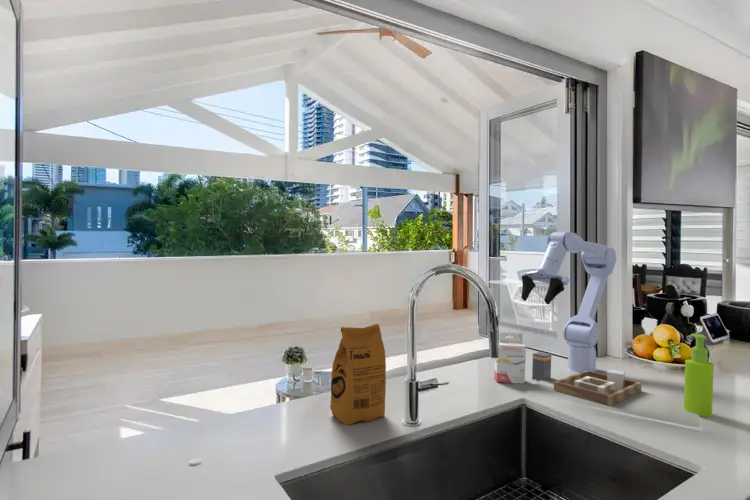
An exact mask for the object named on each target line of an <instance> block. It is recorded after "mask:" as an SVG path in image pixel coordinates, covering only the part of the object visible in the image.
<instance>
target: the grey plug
mask: <svg viewBox="0 0 750 500" xmlns="http://www.w3.org/2000/svg"><path fill="white" fill-rule="evenodd" d="M625 373H626V372H625V371H624V370H618V369H612V368H609V369H608V370H607V372H606V375H607V381H610V382H615V391H619V390H621V389H623V388H624V379H625Z"/></svg>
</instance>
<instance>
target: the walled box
mask: <svg viewBox="0 0 750 500" xmlns="http://www.w3.org/2000/svg"><path fill="white" fill-rule="evenodd" d="M553 391H555V392H559V393H562V394H566V395H570V396H574V397H576V398H579V399H585V400H589V401H592V402H594V403H599V404H603V405H607V406H611V407H612V406H614V405H616V404H619V403H621V402H622V401H625V400H627V399H628V398H630V397H633V396H634V395H637V394H639V393H641V392H642V382H640V381H636V380H631V379H627V378H624V388H623V389H621V390H619V391H615V382H610V381H607V374H604V373H600V372H596V371H594V372H592V371H587V370H586V371H583V372H580V373H578V372H576V373H574V374H573V375H569V376H567V377H563V378H561V379H560V378H559V379H557V380H555V381H553Z"/></svg>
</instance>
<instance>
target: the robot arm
mask: <svg viewBox="0 0 750 500" xmlns="http://www.w3.org/2000/svg"><path fill="white" fill-rule="evenodd" d="M567 252H568V253H572V254H578V253H580V252H581V253H580V257H581V262H582V263H583V267H584V270H585V272H586V273H587V274H589V275H590V278H589V281H588V284H587V286H586V290H585V293H584V296H583V298H582V301H581V304H580V307H579V310H578V313H577V314H576V315H574V316H572V317H569V319H568V321H567V323H566V324H565V325H564V327H563V331H562V337H563V339H564V340H565V341H566V344H568V349H567V351H568V353H567V354H568V355H567V356H568V357H567V358H568V359H567V367H563V368H562V369H563V370H564V371H565V370H566V371H569V372H574V373H580V372H583V371H586V370H587V371H592V372H596V371H598V370H599V369H598V368H596V365H597V363H596V362H597V351H596V348H595V347H594V346H595V345H596V344H597V342H599V341H598V340H599V333H600V326H599V324H598V322H596V321H595V320H594V319H595V316H596V314H597V310H598V308H599V304H600V301H601V298H602V295H603V293H604V291H605V290H604V289H605V286H606V284H607V281H608V277H609V276H610V275H612V273H613V271H614V269H615V265H616V261H617V255H616V254H617V253H616V250H615V249H614V248H613V247H612V246H611V247H609V246H608V245H606V244H601V243H597V242H591V241H584V239H583V238H582V236H579V235H578V234H577V233H576V232H574V233H573V232H572V231H570V232H569V231H552V233H550V234H548V235H547V239H546V245H545V252H544V255H543V257H542V259H541V261H540V263H539V265H538V267H537V270H533V271H523V272H522V275H521V283H522V284H521V285H522V291H521V296H520V298H521V300H522V301H524V302H527V300H528V298H529V296H530V294H531V292H532V291H533V289H534V288H536V286H537V285H536V283H535V282H541V283H545V284H549V286H548V289H547V292H546V293H545V296H544V300H543V301H544V302H545V304H546V305H548V306H549V305H550V304H551V302H552V301H554V299H555V298H556V297H557V296H558V295H560V293H562V292H564V291H565V286H568V284H569V282H570V279H569V277H568V276H567V275H562V274H559V270H560V268H561V266H562V264H563V261H564V259H565V257H566V254H567ZM534 281H535V282H534Z"/></svg>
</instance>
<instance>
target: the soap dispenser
mask: <svg viewBox="0 0 750 500" xmlns="http://www.w3.org/2000/svg"><path fill="white" fill-rule="evenodd" d="M690 336H691V337H695V346H693V347H691V355H690V356H691V358H689V359H685V361H684V363H685V366H684V367H685V368H684V395H683V397H684V398H683V400H684V401H683V409H684V411H686V412H689V413H692V414H696V415H698V416H699V417H700V418H711V417H712V416H713V395H714V392H713V391H714V363H713V362H710V361H709V360H708V359H709V358H708V356H709V355H708V353H709V350H708V348H706V347H705V340H707V336H706V335H704V334H703V333H690Z"/></svg>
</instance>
